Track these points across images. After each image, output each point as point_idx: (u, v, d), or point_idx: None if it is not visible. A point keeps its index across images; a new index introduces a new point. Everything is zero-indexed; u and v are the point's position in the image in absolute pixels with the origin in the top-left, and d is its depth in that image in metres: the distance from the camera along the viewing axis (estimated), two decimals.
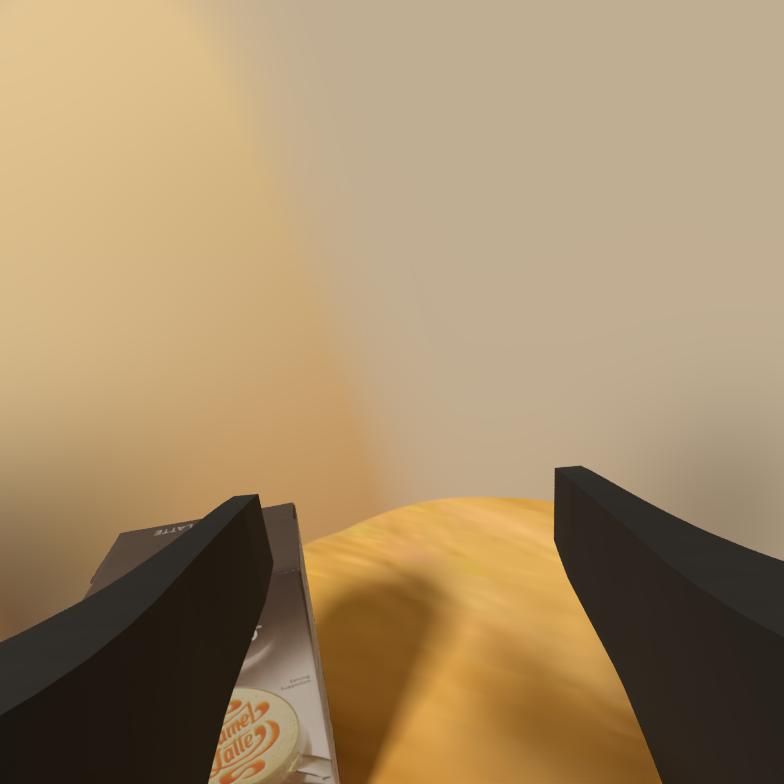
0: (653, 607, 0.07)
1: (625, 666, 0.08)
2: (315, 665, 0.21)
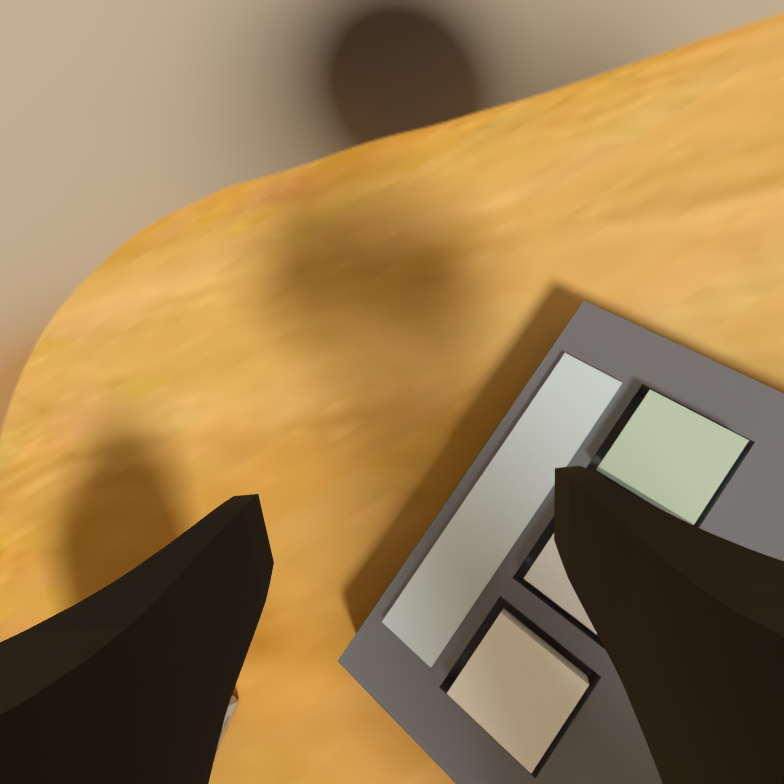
0: (653, 607, 0.07)
1: (625, 666, 0.08)
2: None
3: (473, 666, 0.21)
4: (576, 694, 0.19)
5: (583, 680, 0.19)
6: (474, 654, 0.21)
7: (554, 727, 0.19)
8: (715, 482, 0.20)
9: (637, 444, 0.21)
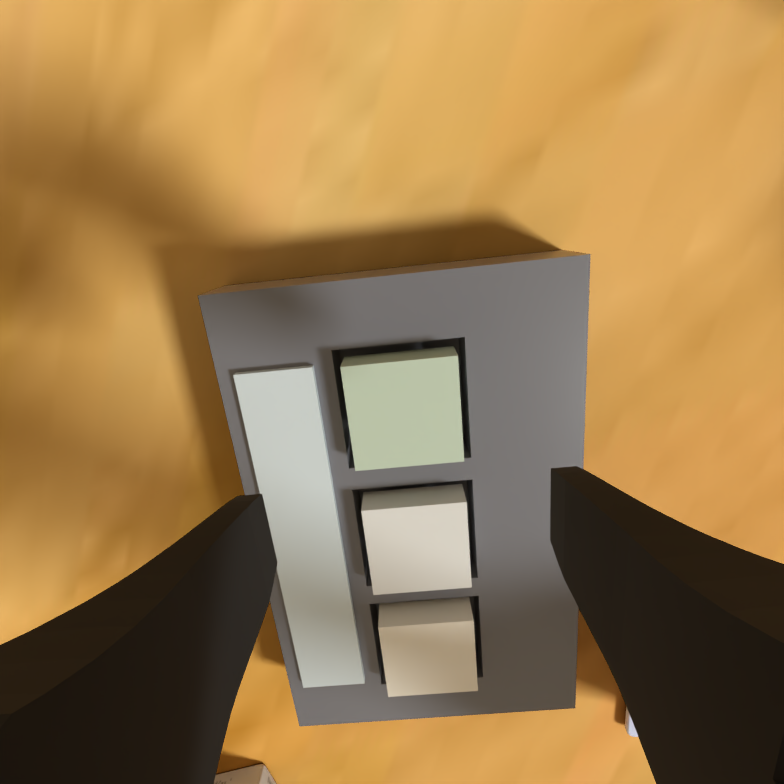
0: (647, 608, 0.07)
1: (620, 667, 0.08)
2: None
3: (390, 670, 0.22)
4: (470, 631, 0.21)
5: (468, 620, 0.21)
6: (384, 664, 0.22)
7: (471, 659, 0.21)
8: (456, 414, 0.18)
9: (371, 427, 0.18)
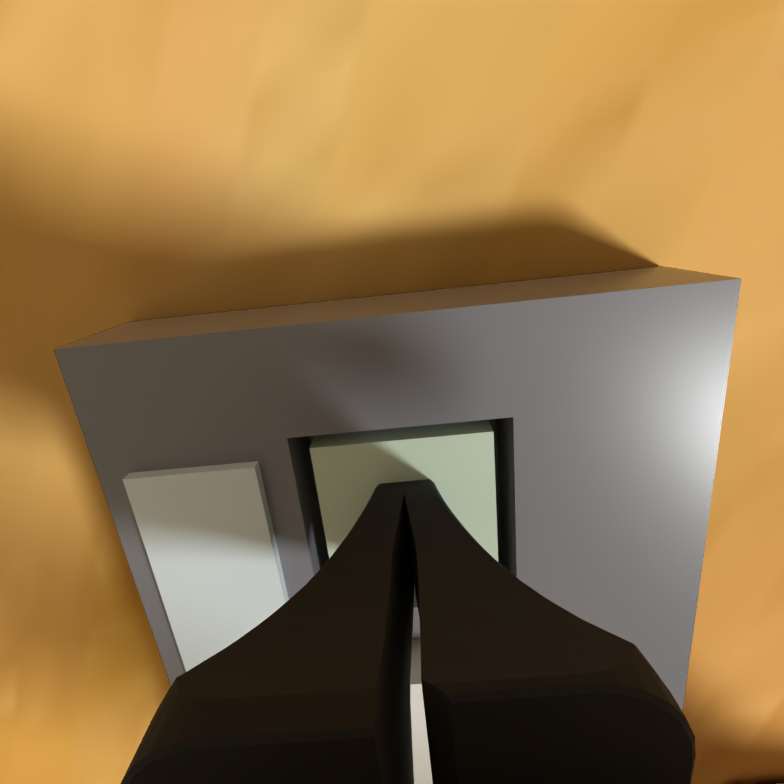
0: None
1: None
2: None
3: None
4: None
5: None
6: None
7: None
8: (489, 516, 0.11)
9: None
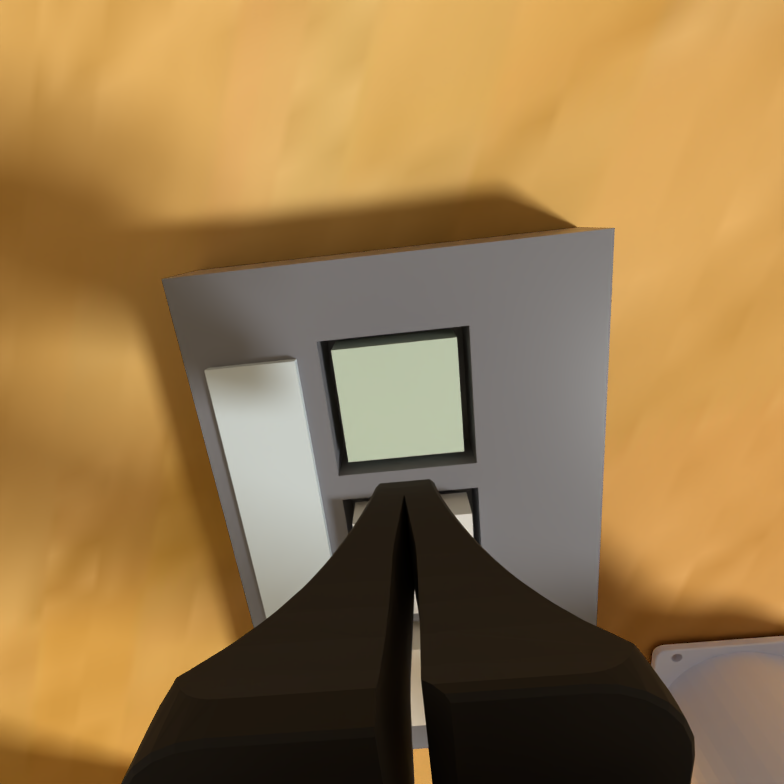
0: None
1: None
2: None
3: None
4: None
5: None
6: None
7: None
8: (455, 400, 0.16)
9: (364, 416, 0.17)
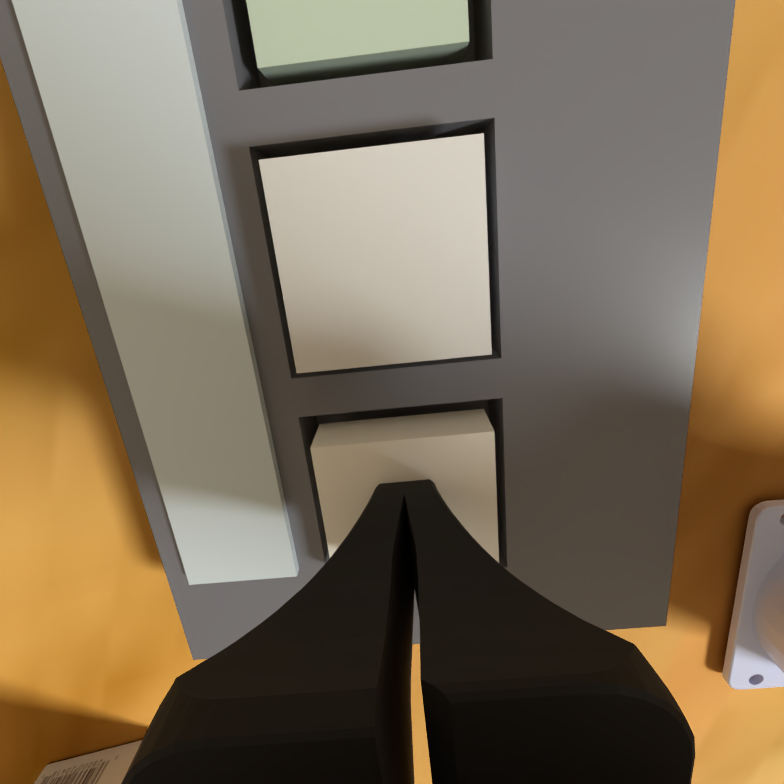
0: None
1: None
2: None
3: (338, 540, 0.12)
4: (487, 456, 0.11)
5: (483, 431, 0.11)
6: (326, 526, 0.12)
7: (489, 515, 0.11)
8: None
9: None
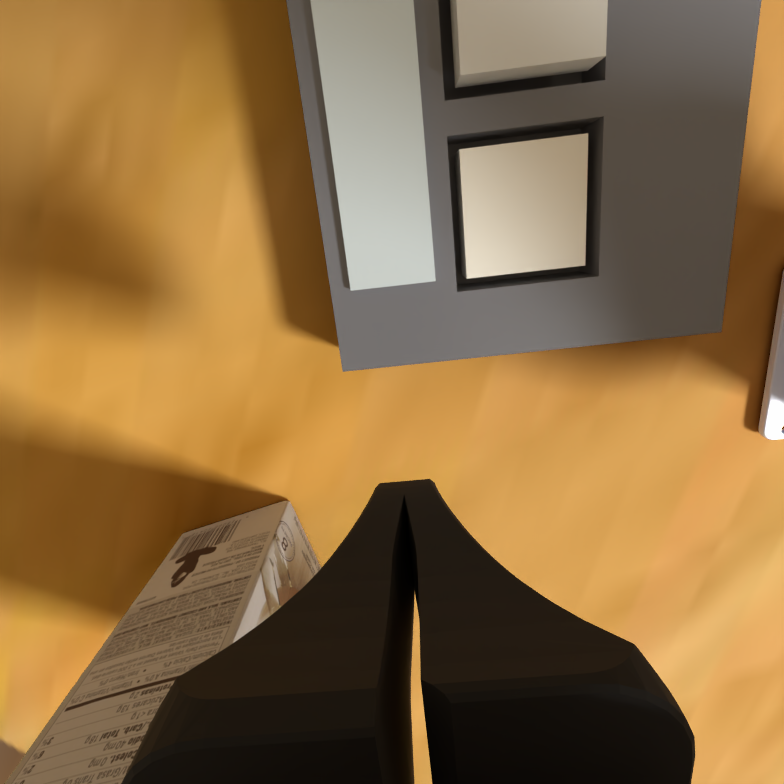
0: None
1: None
2: None
3: (472, 229, 0.16)
4: (581, 155, 0.16)
5: (580, 135, 0.16)
6: (465, 217, 0.16)
7: (580, 206, 0.16)
8: None
9: None
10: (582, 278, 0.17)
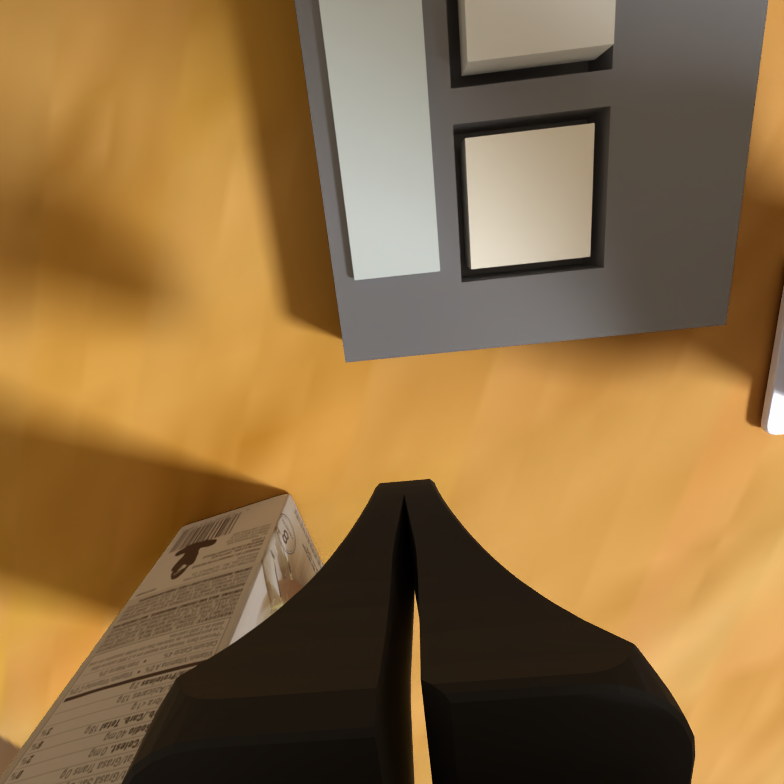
0: None
1: None
2: None
3: (477, 219, 0.16)
4: (588, 145, 0.16)
5: (586, 124, 0.15)
6: (470, 207, 0.16)
7: (586, 196, 0.16)
8: None
9: None
10: (587, 269, 0.17)
